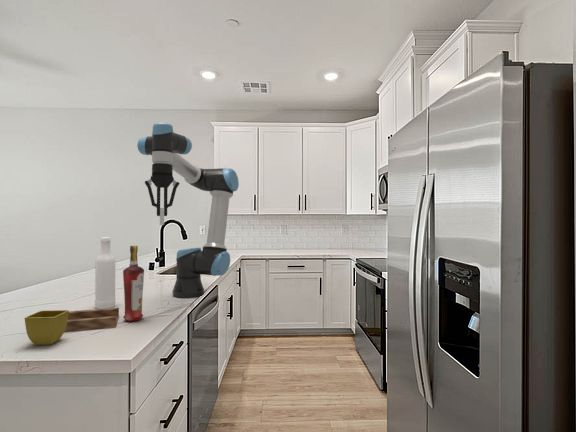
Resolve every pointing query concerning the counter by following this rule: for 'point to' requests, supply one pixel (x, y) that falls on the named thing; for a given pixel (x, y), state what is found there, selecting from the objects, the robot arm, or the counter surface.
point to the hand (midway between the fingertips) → (161, 224)
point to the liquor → (133, 288)
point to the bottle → (105, 277)
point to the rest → (92, 319)
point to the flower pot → (46, 326)
